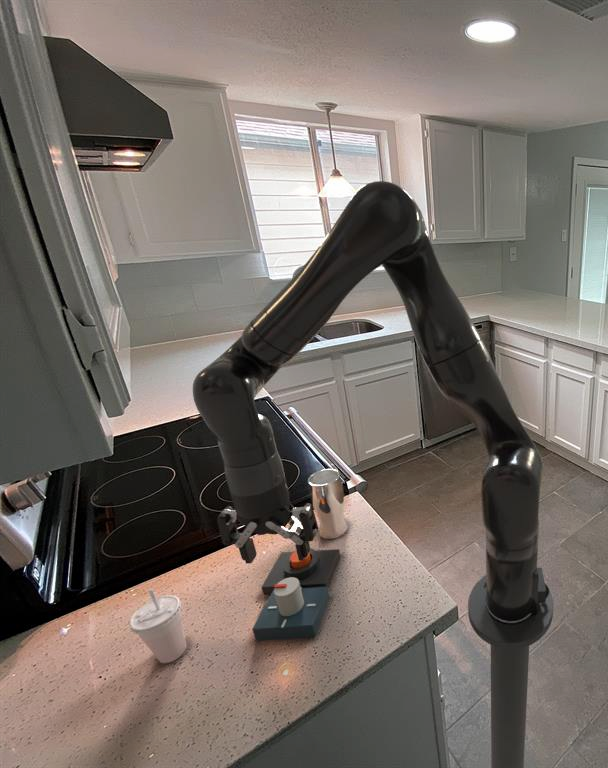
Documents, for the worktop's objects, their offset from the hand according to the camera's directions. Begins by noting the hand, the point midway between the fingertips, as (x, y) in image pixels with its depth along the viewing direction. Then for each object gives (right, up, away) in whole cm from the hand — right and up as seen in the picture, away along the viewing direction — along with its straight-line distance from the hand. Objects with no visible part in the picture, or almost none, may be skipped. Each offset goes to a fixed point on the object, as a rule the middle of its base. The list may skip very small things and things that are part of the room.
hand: (277, 558), depth 70 cm
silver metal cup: (-2, -5, +27) cm, 27 cm away
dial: (0, -11, +4) cm, 12 cm away
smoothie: (-17, -16, -1) cm, 24 cm away
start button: (-3, -6, +13) cm, 15 cm away
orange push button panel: (-3, -10, +15) cm, 18 cm away
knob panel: (0, -13, +6) cm, 15 cm away
